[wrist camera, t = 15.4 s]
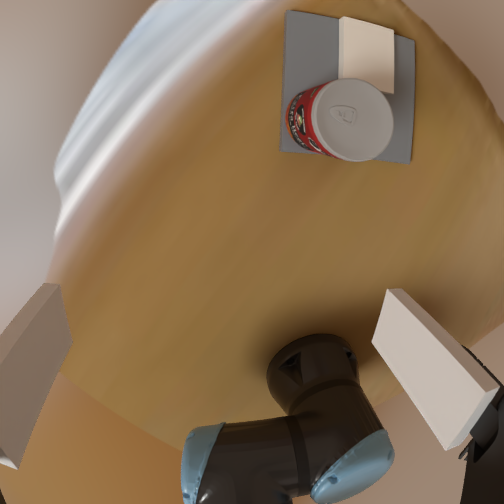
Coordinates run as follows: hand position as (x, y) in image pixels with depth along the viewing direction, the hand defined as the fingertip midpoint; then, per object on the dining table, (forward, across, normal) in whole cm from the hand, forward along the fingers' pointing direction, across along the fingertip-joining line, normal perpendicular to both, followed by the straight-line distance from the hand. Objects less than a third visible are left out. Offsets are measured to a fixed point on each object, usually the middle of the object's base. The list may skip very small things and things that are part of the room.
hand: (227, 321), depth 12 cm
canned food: (+27, -11, -9) cm, 30 cm away
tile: (+26, -17, -14) cm, 34 cm away
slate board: (+28, -16, -14) cm, 35 cm away
